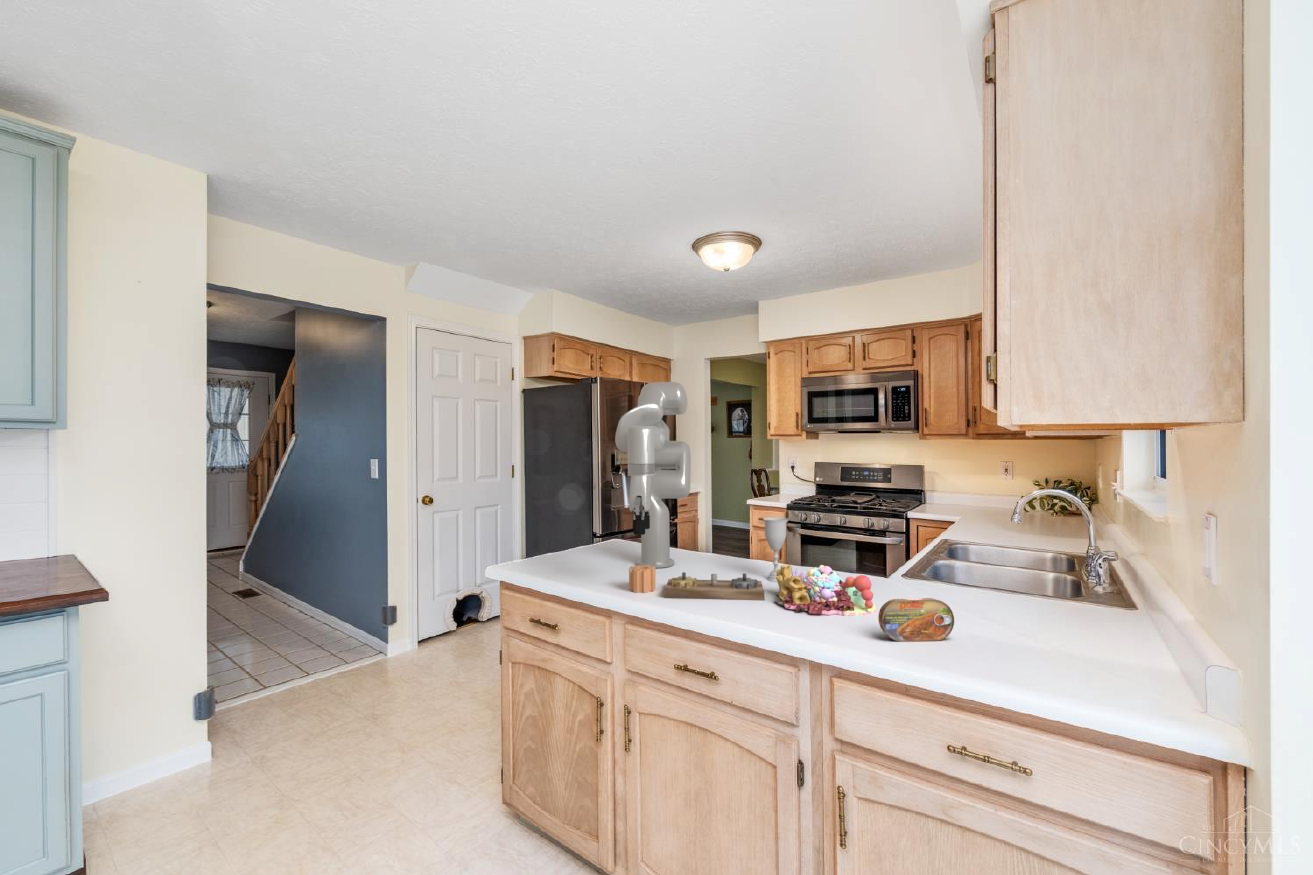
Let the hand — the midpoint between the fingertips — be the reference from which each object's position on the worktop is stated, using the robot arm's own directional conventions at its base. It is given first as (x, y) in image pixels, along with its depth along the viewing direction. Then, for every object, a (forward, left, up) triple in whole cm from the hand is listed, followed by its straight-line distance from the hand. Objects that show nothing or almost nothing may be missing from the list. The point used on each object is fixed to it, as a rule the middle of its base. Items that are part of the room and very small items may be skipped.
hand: (641, 531), depth 159 cm
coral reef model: (+8, +48, -17) cm, 51 cm away
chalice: (-14, +38, -16) cm, 44 cm away
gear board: (+2, +20, -16) cm, 26 cm away
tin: (+34, +62, -16) cm, 73 cm away
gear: (0, 0, -16) cm, 16 cm away
